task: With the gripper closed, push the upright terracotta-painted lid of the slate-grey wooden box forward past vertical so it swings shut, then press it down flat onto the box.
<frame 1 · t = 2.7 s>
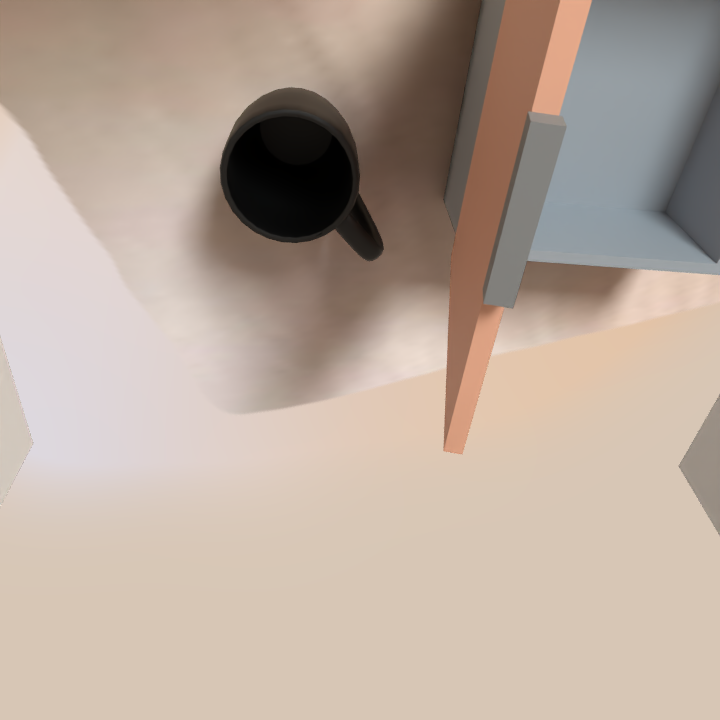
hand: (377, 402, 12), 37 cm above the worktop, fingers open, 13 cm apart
box: (604, 56, 43), on the worktop
mug: (314, 148, 46), on the worktop
lid: (505, 129, 27), point 18 cm above the worktop, hinge at 100.0°
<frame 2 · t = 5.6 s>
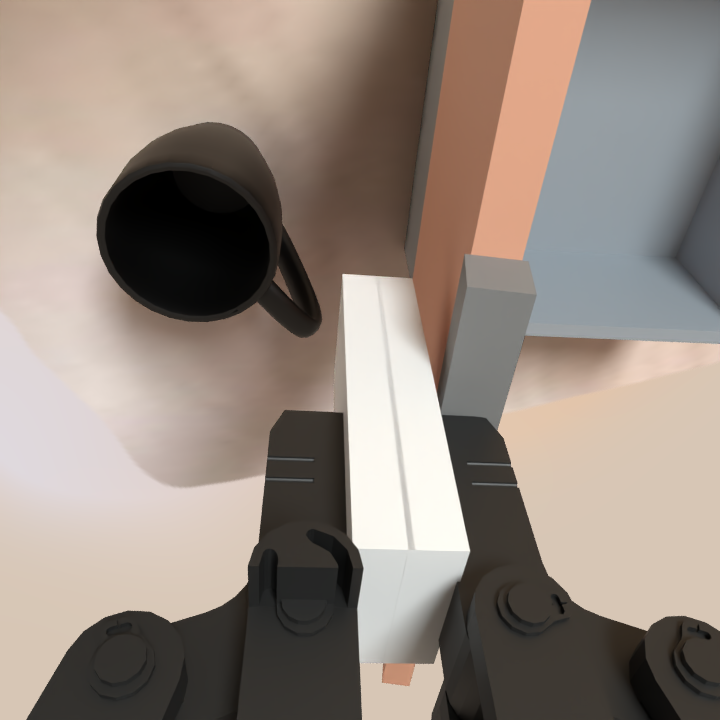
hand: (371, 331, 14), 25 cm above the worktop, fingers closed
box: (595, 73, 34), on the worktop
mug: (242, 192, 37), on the worktop
lid: (452, 210, 18), point 19 cm above the worktop, hinge at 97.4°, touching gripper
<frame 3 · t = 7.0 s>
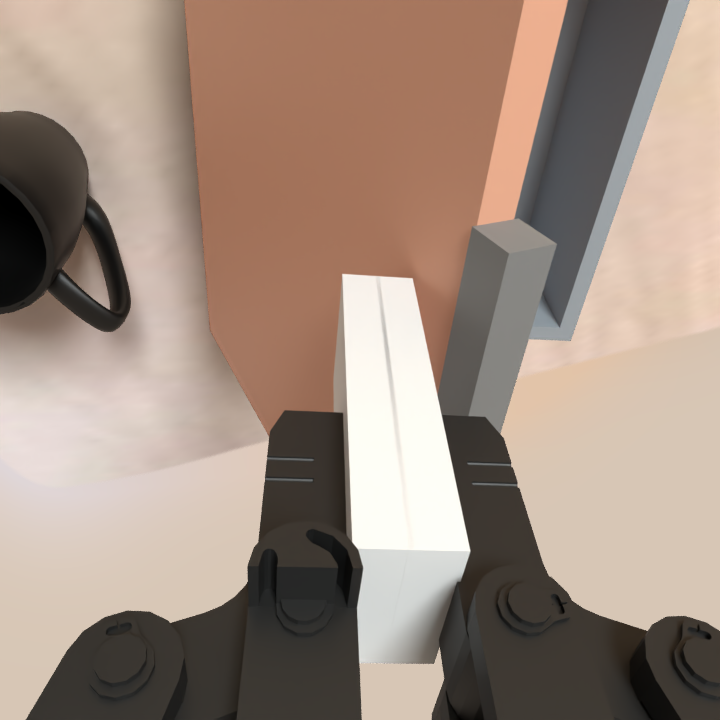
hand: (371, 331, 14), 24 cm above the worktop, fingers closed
box: (411, 61, 33), on the worktop
mug: (68, 183, 37), on the worktop
lid: (297, 194, 18), point 18 cm above the worktop, hinge at 64.4°, touching gripper
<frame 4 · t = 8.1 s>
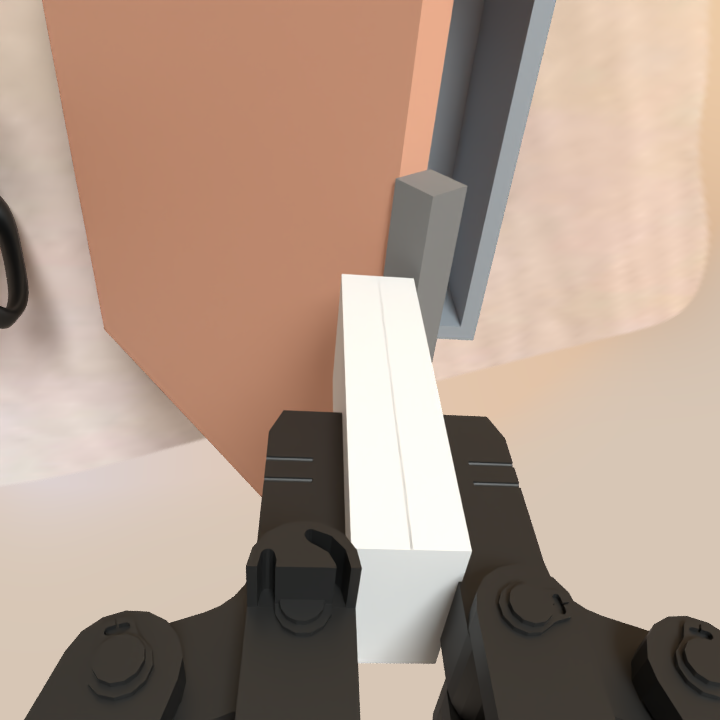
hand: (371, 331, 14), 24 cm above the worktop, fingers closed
box: (313, 57, 33), on the worktop
lid: (199, 175, 19), point 17 cm above the worktop, hinge at 50.2°, touching gripper
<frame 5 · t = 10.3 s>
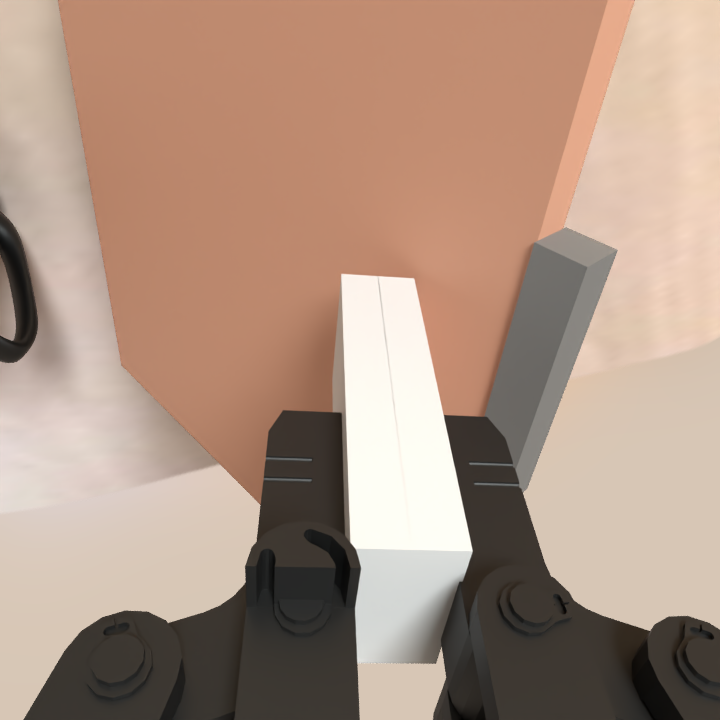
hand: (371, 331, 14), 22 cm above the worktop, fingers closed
lid: (252, 214, 17), point 17 cm above the worktop, hinge at 48.4°, touching gripper
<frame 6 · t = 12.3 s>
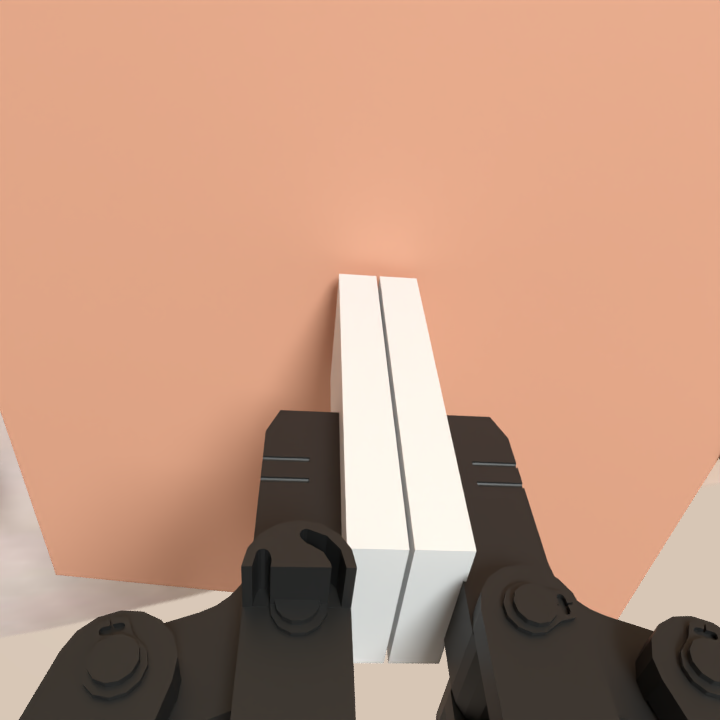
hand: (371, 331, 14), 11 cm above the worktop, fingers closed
lid: (393, 312, 14), point 10 cm above the worktop, hinge at 5.4°, touching gripper
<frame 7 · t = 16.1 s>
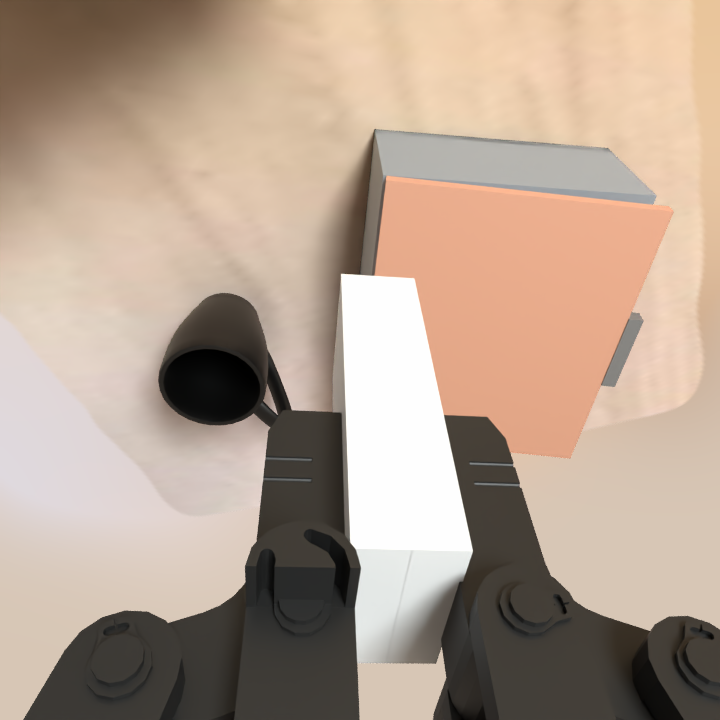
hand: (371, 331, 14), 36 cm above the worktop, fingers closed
box: (465, 267, 54), on the worktop
mug: (243, 330, 58), on the worktop
lid: (497, 337, 46), point 10 cm above the worktop, hinge at 5.3°
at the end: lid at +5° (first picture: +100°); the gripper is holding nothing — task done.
